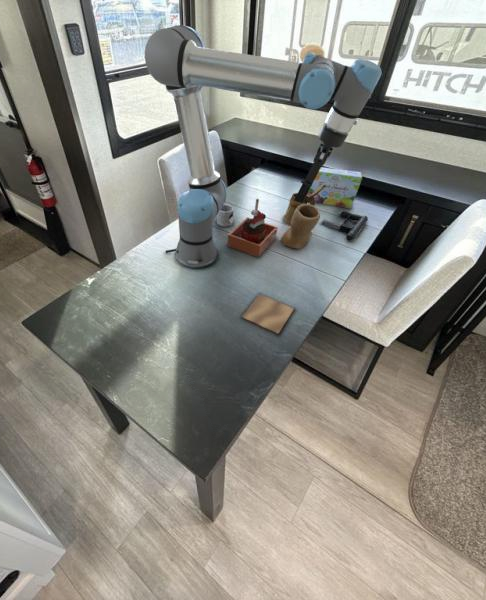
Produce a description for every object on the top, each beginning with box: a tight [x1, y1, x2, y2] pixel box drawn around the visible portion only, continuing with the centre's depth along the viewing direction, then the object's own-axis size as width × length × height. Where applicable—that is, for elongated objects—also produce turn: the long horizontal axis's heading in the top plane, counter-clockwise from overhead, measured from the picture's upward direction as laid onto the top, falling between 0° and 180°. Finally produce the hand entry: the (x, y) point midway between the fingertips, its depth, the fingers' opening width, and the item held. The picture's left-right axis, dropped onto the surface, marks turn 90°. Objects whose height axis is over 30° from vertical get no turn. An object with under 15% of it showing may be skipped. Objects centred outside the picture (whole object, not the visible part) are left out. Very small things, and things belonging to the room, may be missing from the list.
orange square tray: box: [226, 216, 279, 258], centre depth 122 cm, size 14×16×5 cm
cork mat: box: [241, 293, 295, 335], centre depth 96 cm, size 12×12×1 cm
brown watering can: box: [282, 184, 326, 226], centre depth 129 cm, size 9×14×18 cm, turn 63°
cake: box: [239, 198, 267, 245], centre depth 118 cm, size 11×9×18 cm
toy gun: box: [321, 210, 369, 242], centre depth 132 cm, size 3×20×16 cm
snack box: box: [306, 166, 363, 209], centre depth 143 cm, size 21×6×15 cm, turn 73°
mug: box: [216, 203, 234, 228], centre depth 133 cm, size 10×7×7 cm, turn 171°
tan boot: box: [280, 203, 321, 250], centre depth 120 cm, size 15×12×15 cm
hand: (303, 191), depth 105 cm, fingers open, 13 cm apart
